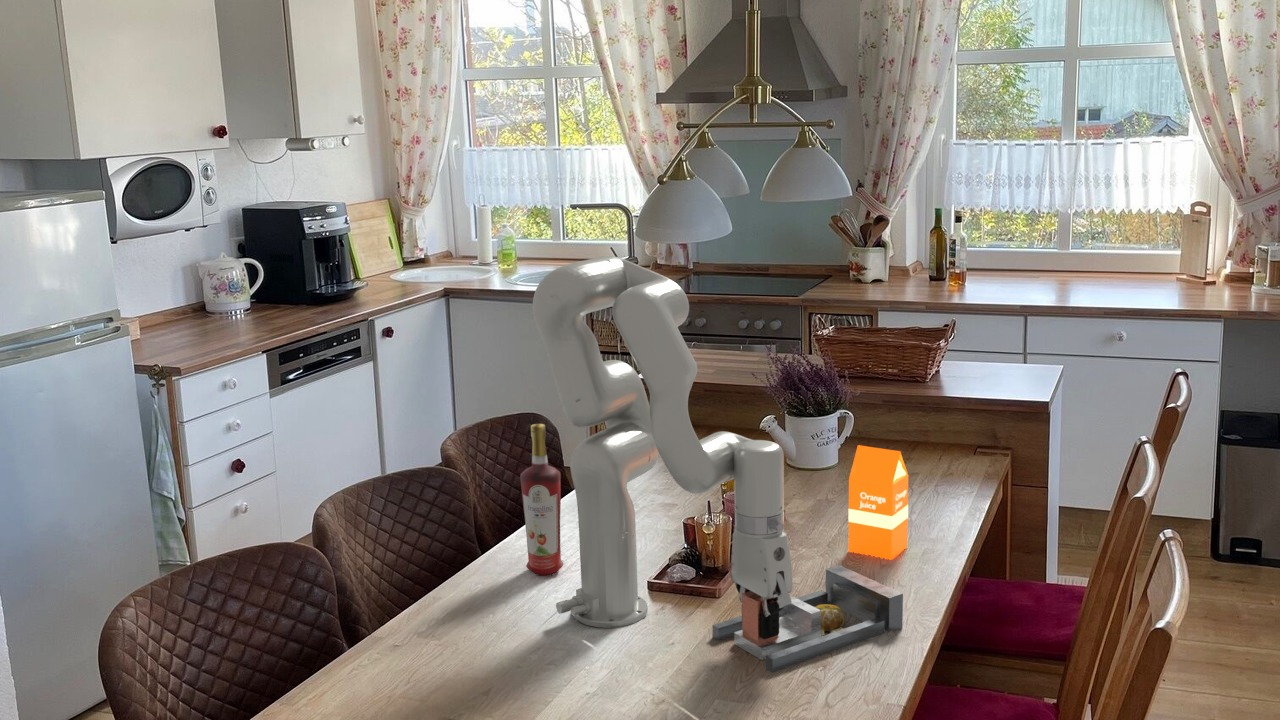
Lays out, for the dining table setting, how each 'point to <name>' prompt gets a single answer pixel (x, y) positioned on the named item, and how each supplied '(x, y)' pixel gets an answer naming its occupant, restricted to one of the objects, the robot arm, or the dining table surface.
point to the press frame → (852, 597)
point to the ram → (793, 626)
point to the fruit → (831, 618)
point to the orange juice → (878, 503)
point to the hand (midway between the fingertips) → (760, 630)
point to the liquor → (542, 508)
